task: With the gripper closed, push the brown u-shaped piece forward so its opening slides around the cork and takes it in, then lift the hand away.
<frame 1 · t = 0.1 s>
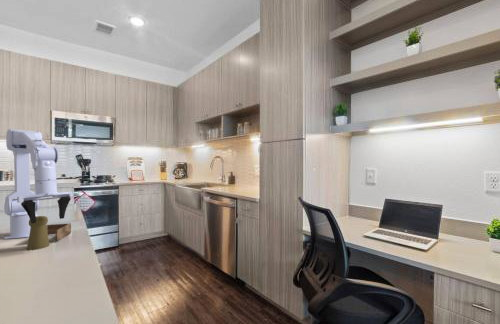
hand: (48, 220, 80), 11 cm above the countertop, tool pointing down, fingers open, 7 cm apart
cork: (38, 247, 85), on the countertop
brown u-shaped piece: (51, 233, 94), point 2 cm above the countertop, slide at 0.0 cm
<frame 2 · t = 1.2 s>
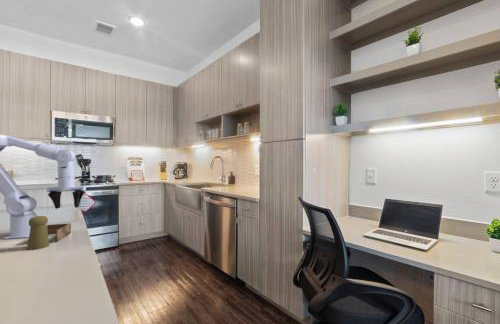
hand: (67, 207, 103), 10 cm above the countertop, tool pointing down, fingers open, 7 cm apart
nothing on the countertop moved.
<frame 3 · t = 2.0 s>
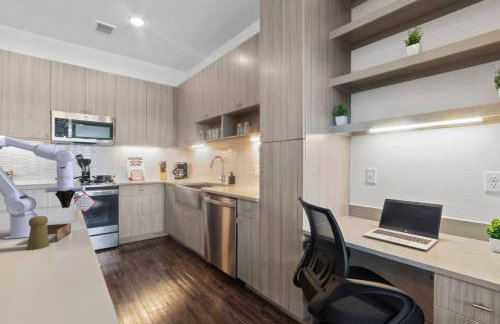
hand: (66, 207, 104), 10 cm above the countertop, tool pointing down, fingers closed
nothing on the countertop moved.
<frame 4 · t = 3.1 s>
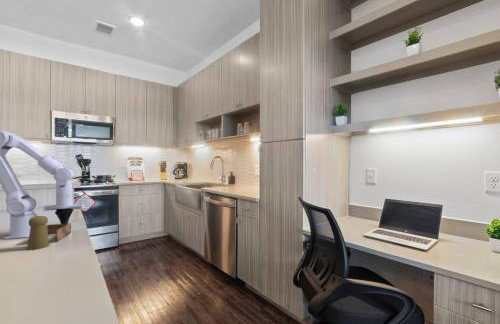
hand: (64, 225, 103), 2 cm above the countertop, tool pointing down, fingers closed
nothing on the countertop moved.
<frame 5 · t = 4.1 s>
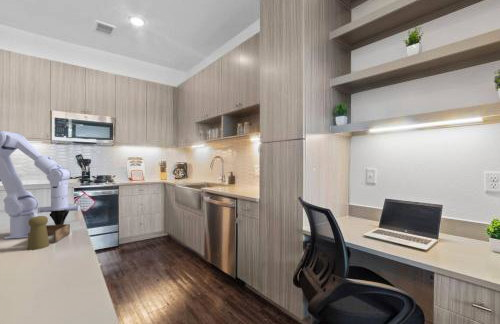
hand: (59, 228, 99), 2 cm above the countertop, tool pointing down, fingers closed, pressing on brown u-shaped piece
brown u-shaped piece: (50, 233, 93), point 2 cm above the countertop, slide at 1.1 cm, touching gripper
everything else where it was.
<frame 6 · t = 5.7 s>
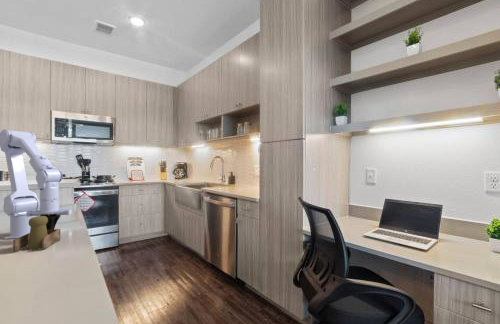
hand: (49, 233, 92), 2 cm above the countertop, tool pointing down, fingers closed
brown u-shaped piece: (38, 240, 85), point 2 cm above the countertop, slide at 8.7 cm, touching gripper
everything else where it was.
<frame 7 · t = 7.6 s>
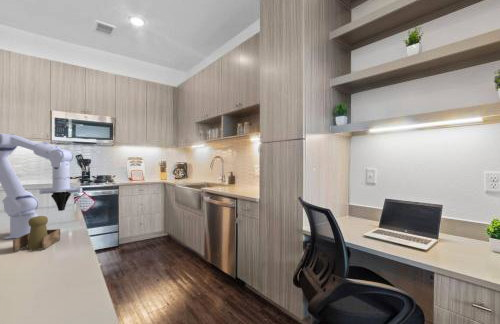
hand: (61, 210, 98), 10 cm above the countertop, tool pointing down, fingers closed
brown u-shaped piece: (38, 240, 85), point 2 cm above the countertop, slide at 8.8 cm
everything else where it was.
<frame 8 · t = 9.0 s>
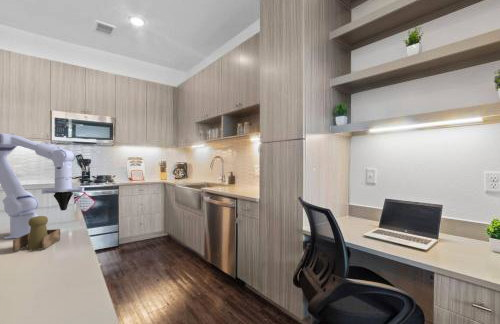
hand: (63, 209, 99), 10 cm above the countertop, tool pointing down, fingers closed
nothing on the countertop moved.
at the end: brown u-shaped piece slide at 8.8 cm; cork 0.5 cm from the target spot, on the countertop; cork tilted 0° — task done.
